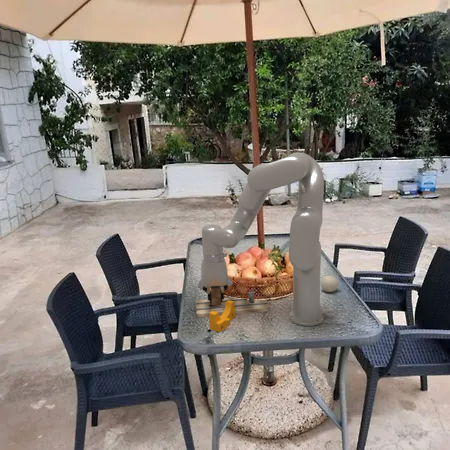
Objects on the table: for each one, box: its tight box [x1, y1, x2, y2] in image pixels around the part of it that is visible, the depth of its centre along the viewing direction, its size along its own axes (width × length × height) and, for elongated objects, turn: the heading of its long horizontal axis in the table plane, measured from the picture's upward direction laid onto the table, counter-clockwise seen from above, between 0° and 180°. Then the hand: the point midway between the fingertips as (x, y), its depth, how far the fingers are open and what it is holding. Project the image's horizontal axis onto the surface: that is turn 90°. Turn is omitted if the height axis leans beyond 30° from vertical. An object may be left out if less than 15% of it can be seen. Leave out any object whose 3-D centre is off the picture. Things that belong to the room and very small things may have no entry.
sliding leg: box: [210, 286, 221, 306], centre depth 160 cm, size 4×4×8 cm
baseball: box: [320, 275, 339, 293], centre depth 171 cm, size 7×7×7 cm
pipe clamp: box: [209, 300, 236, 333], centre depth 149 cm, size 12×4×6 cm, turn 145°
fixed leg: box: [248, 290, 255, 303], centre depth 162 cm, size 2×2×4 cm
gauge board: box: [195, 296, 271, 319], centre depth 162 cm, size 28×12×2 cm, turn 95°
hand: (216, 301), depth 161 cm, fingers closed on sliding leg, 3 cm apart
